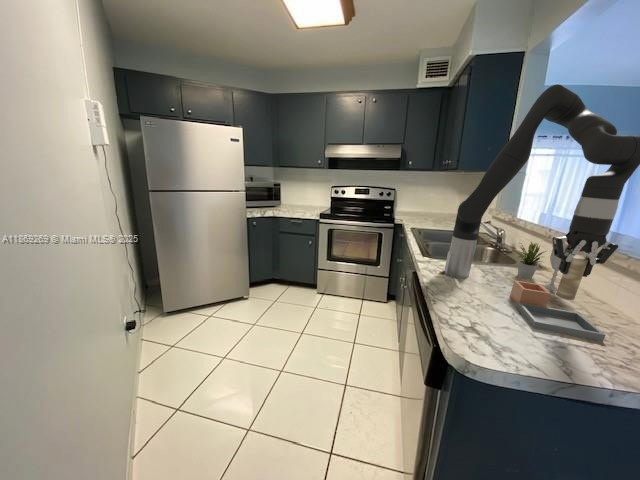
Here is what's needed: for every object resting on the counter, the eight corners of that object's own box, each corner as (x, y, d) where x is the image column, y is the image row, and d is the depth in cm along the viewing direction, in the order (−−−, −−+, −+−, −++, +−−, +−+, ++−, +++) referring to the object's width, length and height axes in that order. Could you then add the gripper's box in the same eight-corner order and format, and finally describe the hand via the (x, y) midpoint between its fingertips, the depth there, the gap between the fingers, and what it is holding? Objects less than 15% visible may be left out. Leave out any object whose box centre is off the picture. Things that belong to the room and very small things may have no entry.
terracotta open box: (517, 307, 87) (523, 289, 85) (509, 297, 94) (514, 280, 92) (544, 312, 85) (550, 293, 83) (533, 302, 92) (539, 284, 90)
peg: (560, 298, 74) (573, 259, 71) (553, 292, 78) (565, 255, 74) (577, 301, 73) (591, 261, 69) (569, 295, 76) (582, 257, 73)
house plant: (501, 266, 127) (510, 235, 122) (536, 273, 121) (546, 239, 116) (507, 276, 114) (517, 241, 110) (546, 284, 108) (558, 247, 104)
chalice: (566, 295, 98) (581, 251, 94) (546, 293, 100) (560, 249, 95) (553, 287, 105) (567, 245, 101) (534, 285, 107) (547, 244, 102)
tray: (532, 330, 74) (535, 321, 73) (516, 310, 85) (518, 302, 85) (601, 344, 70) (605, 335, 69) (575, 321, 81) (578, 312, 80)
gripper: (569, 214, 67) (549, 275, 72) (639, 220, 63) (614, 284, 68) (553, 210, 74) (537, 266, 79) (616, 215, 70) (595, 273, 75)
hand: (573, 274), depth 73 cm, fingers closed on peg, 4 cm apart
